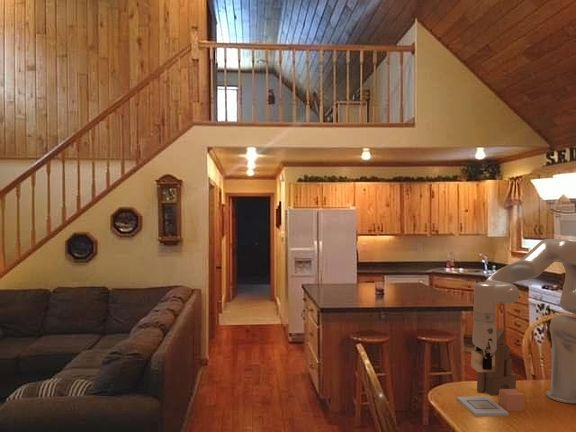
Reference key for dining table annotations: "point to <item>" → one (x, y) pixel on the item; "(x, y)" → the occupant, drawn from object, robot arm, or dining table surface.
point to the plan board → (482, 406)
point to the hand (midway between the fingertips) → (482, 366)
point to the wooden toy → (498, 370)
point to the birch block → (480, 361)
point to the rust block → (511, 399)
